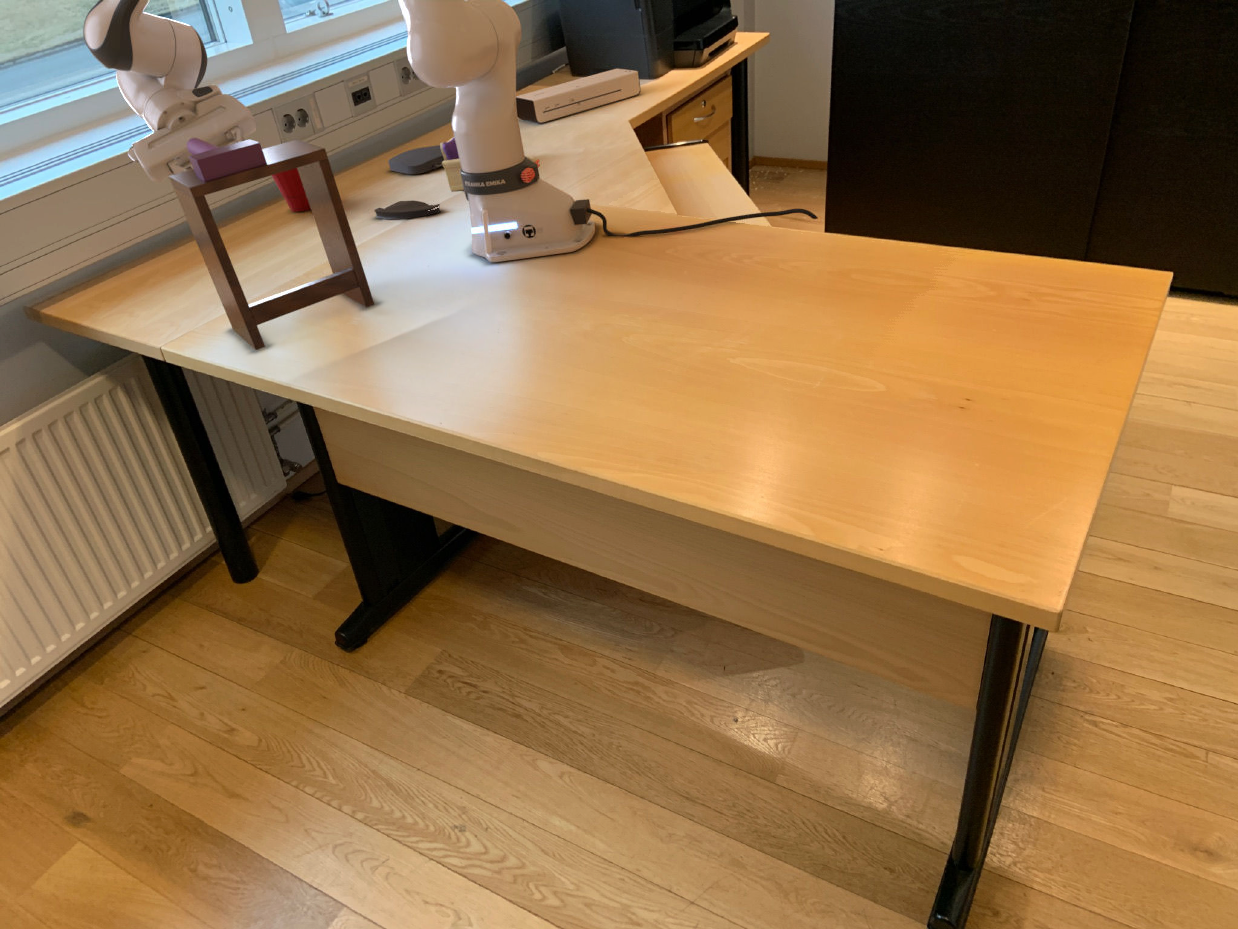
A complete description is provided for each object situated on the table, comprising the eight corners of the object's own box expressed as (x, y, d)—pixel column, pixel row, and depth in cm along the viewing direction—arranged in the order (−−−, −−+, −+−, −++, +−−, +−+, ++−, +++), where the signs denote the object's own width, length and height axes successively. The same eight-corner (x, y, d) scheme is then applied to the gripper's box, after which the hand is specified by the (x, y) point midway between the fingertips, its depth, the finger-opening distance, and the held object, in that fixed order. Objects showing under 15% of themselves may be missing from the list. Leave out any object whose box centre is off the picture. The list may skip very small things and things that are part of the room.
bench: (346, 287, 153) (297, 139, 139) (374, 304, 145) (325, 148, 131) (233, 329, 144) (168, 175, 131) (256, 350, 136) (189, 187, 122)
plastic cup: (269, 215, 199) (249, 161, 193) (303, 199, 207) (285, 146, 200) (303, 217, 194) (284, 161, 188) (337, 200, 202) (320, 146, 195)
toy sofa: (485, 189, 192) (475, 140, 186) (448, 192, 194) (436, 144, 188) (513, 160, 209) (503, 115, 203) (478, 163, 211) (468, 119, 205)
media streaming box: (384, 170, 219) (381, 158, 217) (434, 153, 226) (431, 141, 224) (415, 177, 209) (411, 164, 207) (466, 159, 216) (463, 146, 215)
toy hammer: (170, 162, 138) (161, 143, 137) (226, 147, 142) (219, 127, 141) (205, 181, 124) (196, 160, 122) (267, 163, 128) (259, 142, 126)
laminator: (537, 125, 236) (532, 100, 233) (515, 120, 245) (511, 96, 242) (641, 94, 249) (638, 70, 246) (617, 90, 259) (614, 67, 255)
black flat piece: (420, 222, 179) (418, 214, 178) (374, 218, 186) (372, 210, 185) (448, 208, 184) (446, 200, 183) (402, 204, 191) (400, 197, 190)
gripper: (113, 134, 147) (153, 180, 143) (223, 79, 154) (264, 120, 149) (132, 164, 153) (171, 208, 148) (236, 109, 159) (277, 150, 155)
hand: (219, 164), depth 149 cm, fingers open, 8 cm apart
